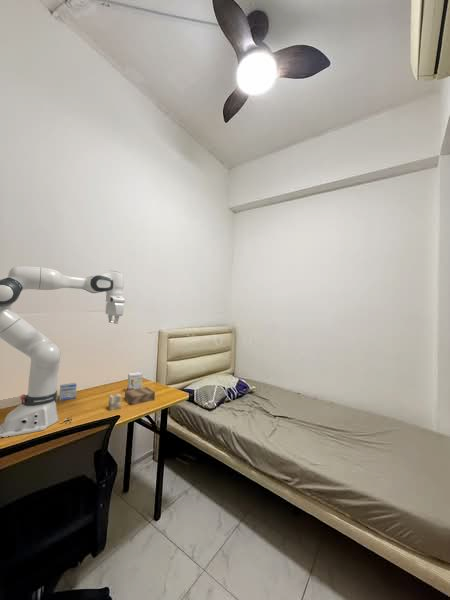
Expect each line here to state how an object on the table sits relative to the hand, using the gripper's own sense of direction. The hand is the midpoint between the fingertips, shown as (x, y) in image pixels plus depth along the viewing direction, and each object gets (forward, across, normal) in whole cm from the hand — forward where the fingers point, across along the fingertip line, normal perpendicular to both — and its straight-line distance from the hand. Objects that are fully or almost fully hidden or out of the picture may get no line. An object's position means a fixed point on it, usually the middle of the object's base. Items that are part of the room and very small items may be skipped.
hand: (113, 323), depth 136 cm
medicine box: (+48, -26, -16) cm, 57 cm away
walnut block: (+48, 0, +18) cm, 52 cm away
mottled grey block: (+48, +4, +2) cm, 48 cm away
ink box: (+48, -16, +21) cm, 55 cm away
